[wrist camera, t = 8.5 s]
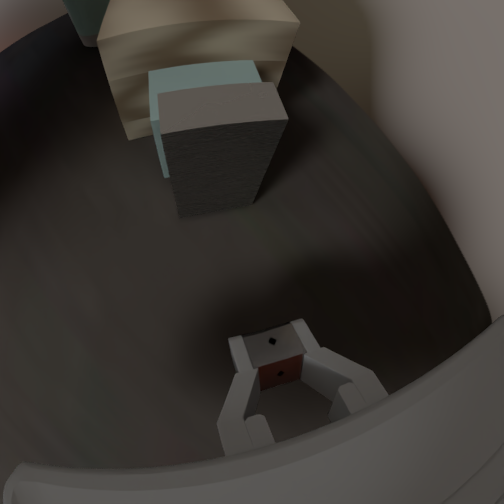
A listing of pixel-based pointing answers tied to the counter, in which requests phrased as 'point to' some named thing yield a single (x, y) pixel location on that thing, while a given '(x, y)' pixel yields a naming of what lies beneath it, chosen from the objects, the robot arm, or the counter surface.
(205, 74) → the pale teal block
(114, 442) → the counter surface
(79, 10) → the coffee cup
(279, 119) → the grey elongated piece
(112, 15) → the block
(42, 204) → the counter surface
